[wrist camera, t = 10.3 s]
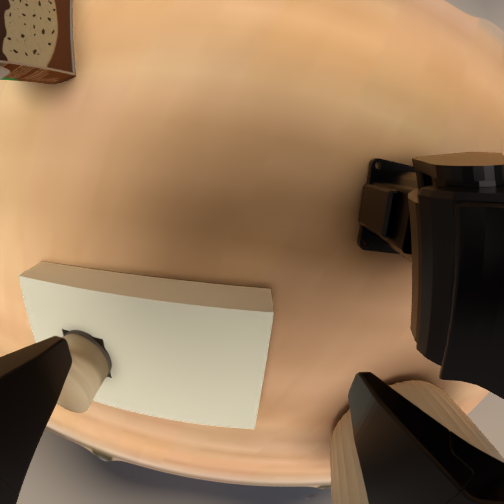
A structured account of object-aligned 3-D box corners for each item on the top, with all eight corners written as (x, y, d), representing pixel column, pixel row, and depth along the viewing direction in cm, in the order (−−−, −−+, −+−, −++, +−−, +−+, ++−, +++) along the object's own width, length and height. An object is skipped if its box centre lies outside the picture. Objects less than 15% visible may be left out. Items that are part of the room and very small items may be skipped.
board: (270, 288, 21) (273, 312, 18) (254, 401, 24) (254, 429, 21) (42, 261, 20) (18, 275, 17) (66, 366, 24) (52, 386, 21)
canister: (305, 466, 29) (321, 601, 9) (307, 373, 23) (352, 608, 3) (427, 434, 28) (476, 543, 8) (468, 334, 23) (576, 467, 3)
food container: (24, 22, 13) (-40, -2, 3) (72, -11, 13) (13, -53, 3) (26, 124, 17) (-61, 124, 7) (78, 91, 16) (-14, 67, 7)
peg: (118, 319, 21) (79, 374, 14) (126, 364, 22) (96, 420, 15) (72, 310, 21) (27, 355, 14) (82, 353, 22) (47, 401, 15)
